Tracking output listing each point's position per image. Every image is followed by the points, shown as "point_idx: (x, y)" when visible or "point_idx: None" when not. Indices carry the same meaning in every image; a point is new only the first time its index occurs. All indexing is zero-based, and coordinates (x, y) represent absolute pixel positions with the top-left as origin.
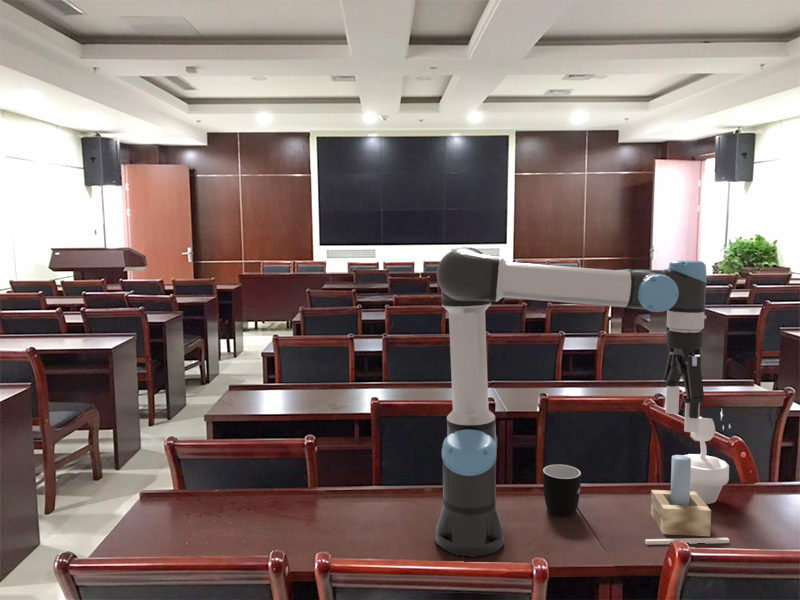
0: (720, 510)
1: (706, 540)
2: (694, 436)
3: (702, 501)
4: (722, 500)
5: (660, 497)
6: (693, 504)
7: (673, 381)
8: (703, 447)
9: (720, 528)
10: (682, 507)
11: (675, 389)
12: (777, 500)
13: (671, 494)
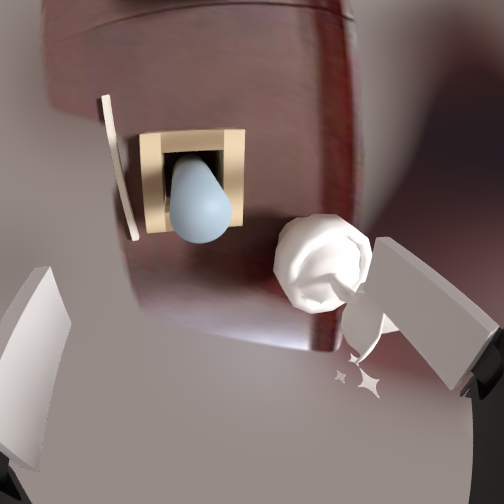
0: (257, 256)
1: (122, 203)
2: None
3: None
4: None
5: (201, 139)
6: None
7: (493, 390)
8: (339, 292)
9: None
10: (150, 177)
11: (453, 363)
12: (292, 333)
13: (189, 163)
